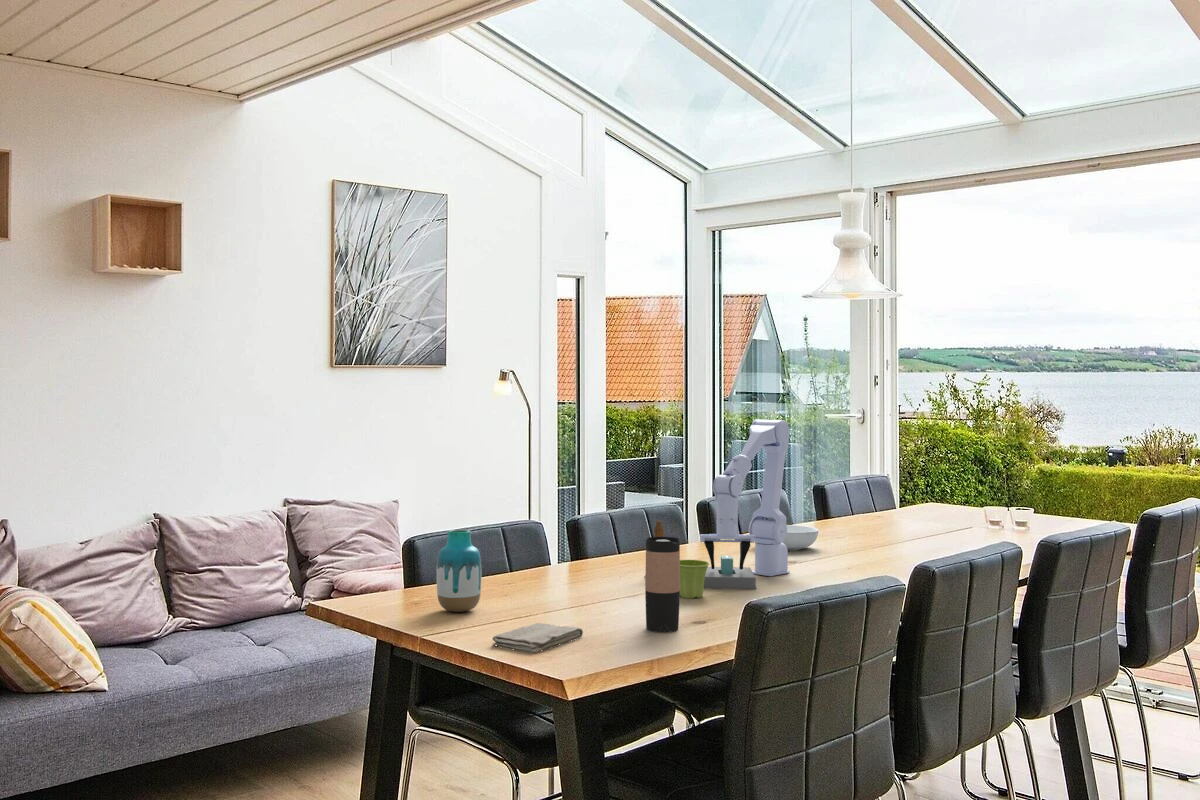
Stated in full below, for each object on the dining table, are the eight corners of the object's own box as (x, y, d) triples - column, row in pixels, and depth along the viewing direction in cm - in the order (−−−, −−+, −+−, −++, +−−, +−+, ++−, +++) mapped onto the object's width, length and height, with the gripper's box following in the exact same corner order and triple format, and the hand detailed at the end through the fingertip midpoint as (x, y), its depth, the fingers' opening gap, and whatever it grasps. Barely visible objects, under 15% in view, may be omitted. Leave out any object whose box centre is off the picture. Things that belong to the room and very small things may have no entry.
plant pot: (712, 594, 282) (713, 560, 282) (704, 601, 273) (704, 566, 273) (677, 591, 285) (677, 558, 285) (668, 598, 276) (668, 564, 276)
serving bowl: (823, 554, 350) (823, 532, 350) (758, 553, 350) (758, 532, 350) (812, 544, 371) (812, 524, 370) (750, 543, 371) (750, 523, 371)
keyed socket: (699, 577, 306) (699, 566, 306) (749, 578, 305) (750, 567, 305) (702, 588, 290) (702, 576, 290) (755, 588, 289) (755, 577, 289)
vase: (462, 617, 252) (462, 535, 252) (427, 612, 258) (427, 531, 258) (490, 609, 261) (490, 530, 261) (455, 604, 267) (456, 526, 267)
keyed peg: (720, 581, 301) (720, 555, 301) (731, 581, 301) (731, 555, 300) (721, 584, 296) (722, 558, 296) (733, 584, 296) (733, 558, 295)
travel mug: (643, 625, 246) (643, 536, 245) (676, 624, 246) (677, 536, 246) (647, 633, 238) (647, 541, 238) (682, 632, 239) (682, 541, 238)
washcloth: (488, 648, 225) (488, 634, 225) (538, 632, 241) (538, 618, 241) (536, 656, 219) (536, 641, 219) (583, 639, 234) (584, 624, 234)
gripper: (701, 520, 294) (701, 570, 294) (755, 521, 293) (755, 571, 293) (700, 517, 301) (699, 566, 301) (753, 517, 300) (752, 567, 300)
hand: (727, 568), depth 298 cm, fingers open, 7 cm apart
